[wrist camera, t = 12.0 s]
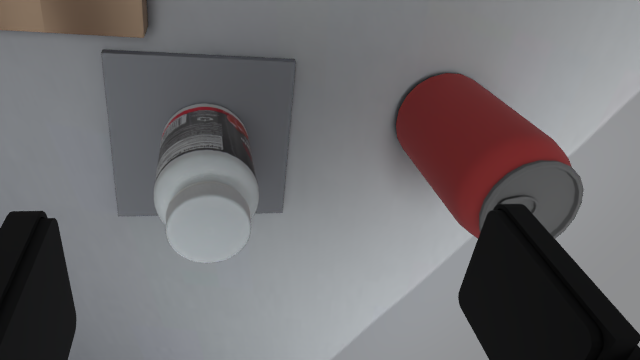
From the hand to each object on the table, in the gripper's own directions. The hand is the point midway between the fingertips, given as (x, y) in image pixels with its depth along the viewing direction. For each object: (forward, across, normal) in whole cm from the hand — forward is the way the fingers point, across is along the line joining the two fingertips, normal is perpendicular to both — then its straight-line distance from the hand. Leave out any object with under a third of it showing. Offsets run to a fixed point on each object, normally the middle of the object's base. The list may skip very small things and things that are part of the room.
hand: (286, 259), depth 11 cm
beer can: (+22, -14, +6) cm, 27 cm away
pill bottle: (+21, +2, +8) cm, 22 cm away
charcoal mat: (+21, +2, +8) cm, 23 cm away
